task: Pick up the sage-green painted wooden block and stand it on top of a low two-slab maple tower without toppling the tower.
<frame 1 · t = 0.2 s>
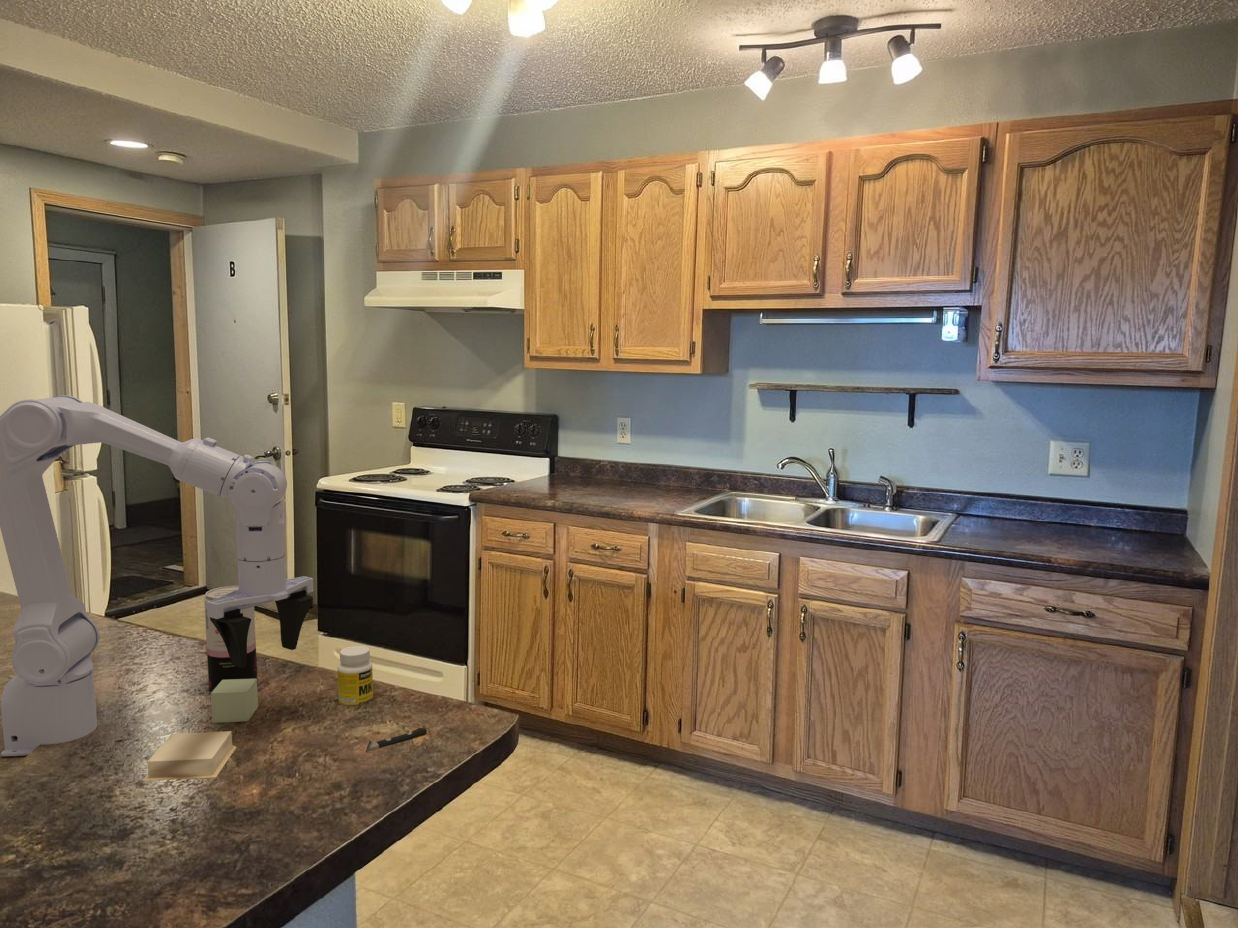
hand: (264, 656, 110), 10 cm above the countertop, tool pointing down, fingers open, 7 cm apart
tower base: (192, 777, 99), on the countertop, touching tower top
green block: (236, 724, 112), on the countertop
beverage can: (233, 690, 124), on the countertop
chef's knife: (354, 753, 106), on the countertop
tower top: (192, 761, 99), point 1 cm above the countertop, touching tower base
supplement bottle: (356, 708, 118), on the countertop
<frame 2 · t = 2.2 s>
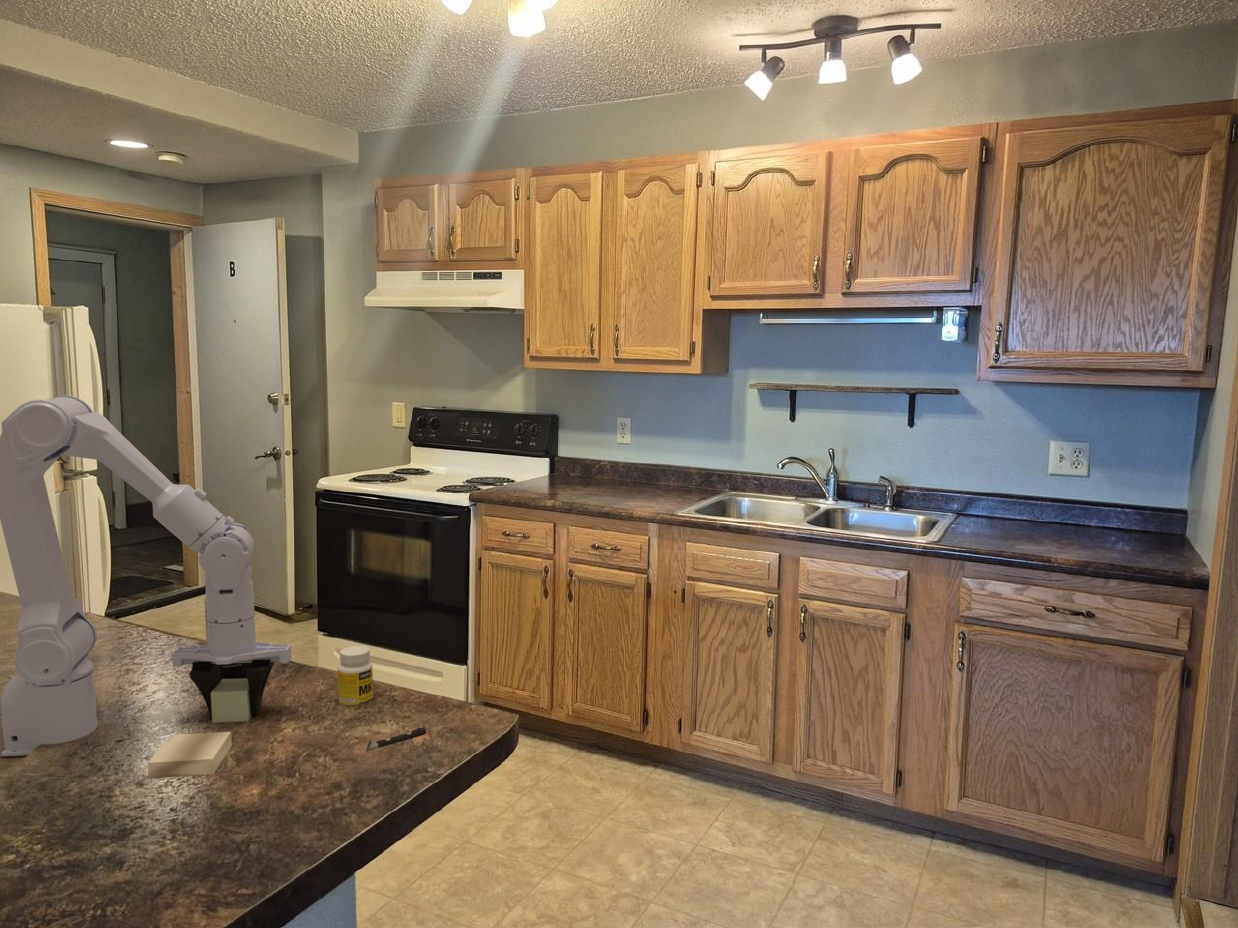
hand: (235, 713, 112), 1 cm above the countertop, tool pointing down, fingers closed on green block, 4 cm apart
green block: (236, 723, 112), on the countertop, touching gripper
everything else where it was.
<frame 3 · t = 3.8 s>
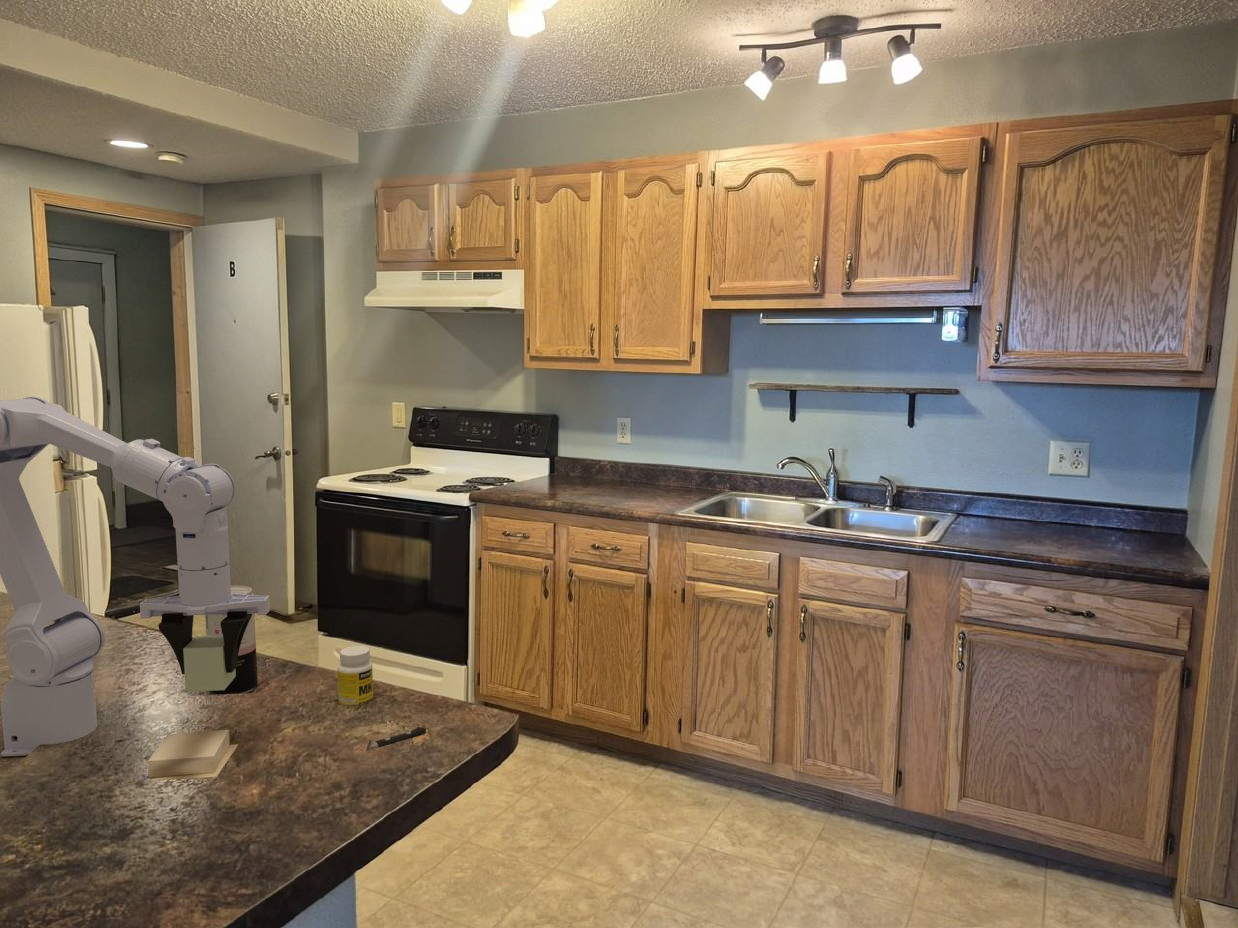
hand: (209, 670, 104), 10 cm above the countertop, tool pointing down, fingers closed on green block, 4 cm apart
green block: (211, 683, 104), point 9 cm above the countertop, touching gripper
everything else where it was.
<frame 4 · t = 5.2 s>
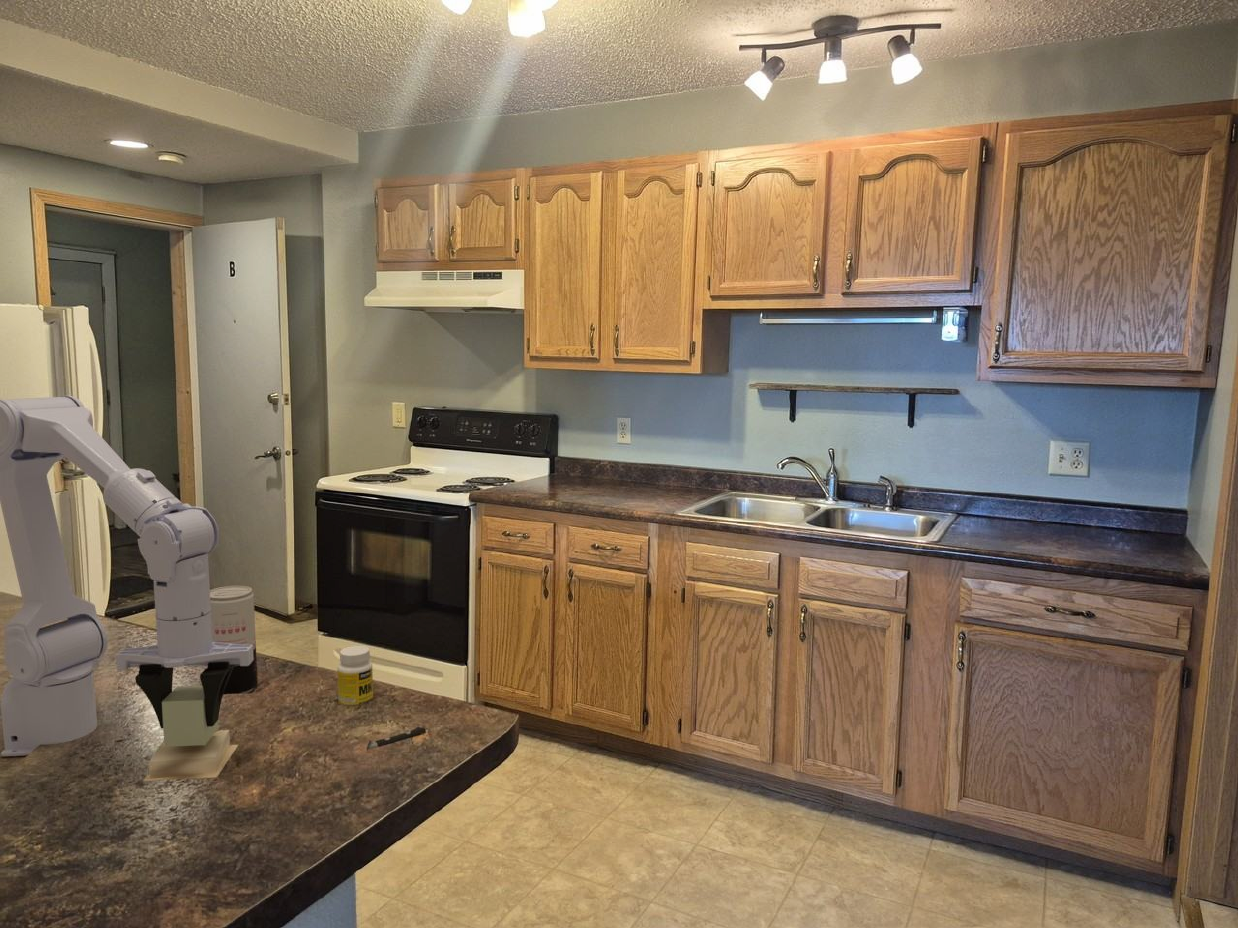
hand: (189, 723, 99), 6 cm above the countertop, tool pointing down, fingers closed on green block, 4 cm apart
green block: (192, 737, 99), point 4 cm above the countertop, touching gripper
everything else where it was.
when the fingers open (6 cm above the countertop, at t = 6.1 s): green block stays where it is, resting on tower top.
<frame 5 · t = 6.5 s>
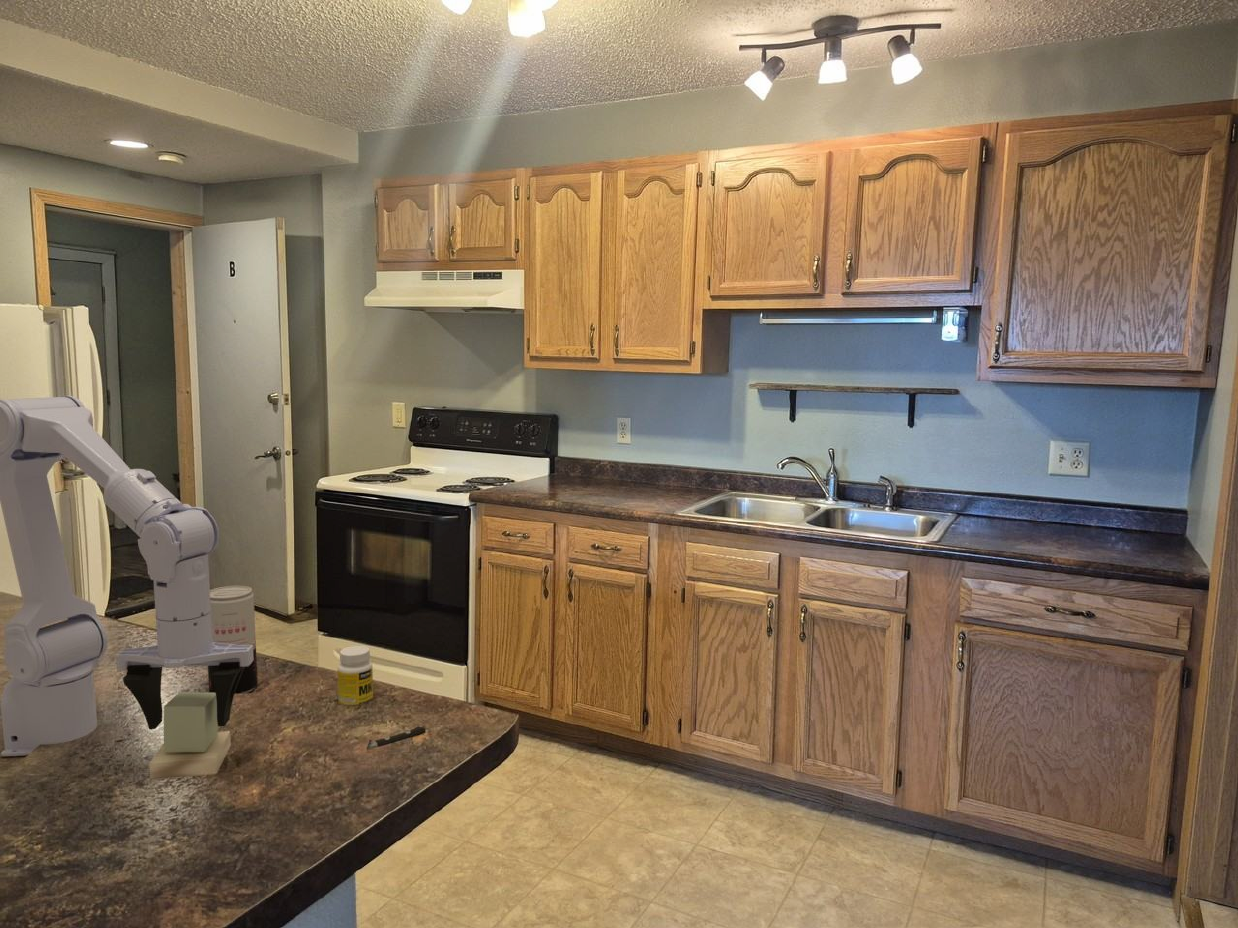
hand: (189, 724, 99), 6 cm above the countertop, tool pointing down, fingers open, 7 cm apart
green block: (191, 743, 99), point 3 cm above the countertop, touching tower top
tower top: (192, 762, 99), point 1 cm above the countertop, touching green block, tower base
everything else where it was.
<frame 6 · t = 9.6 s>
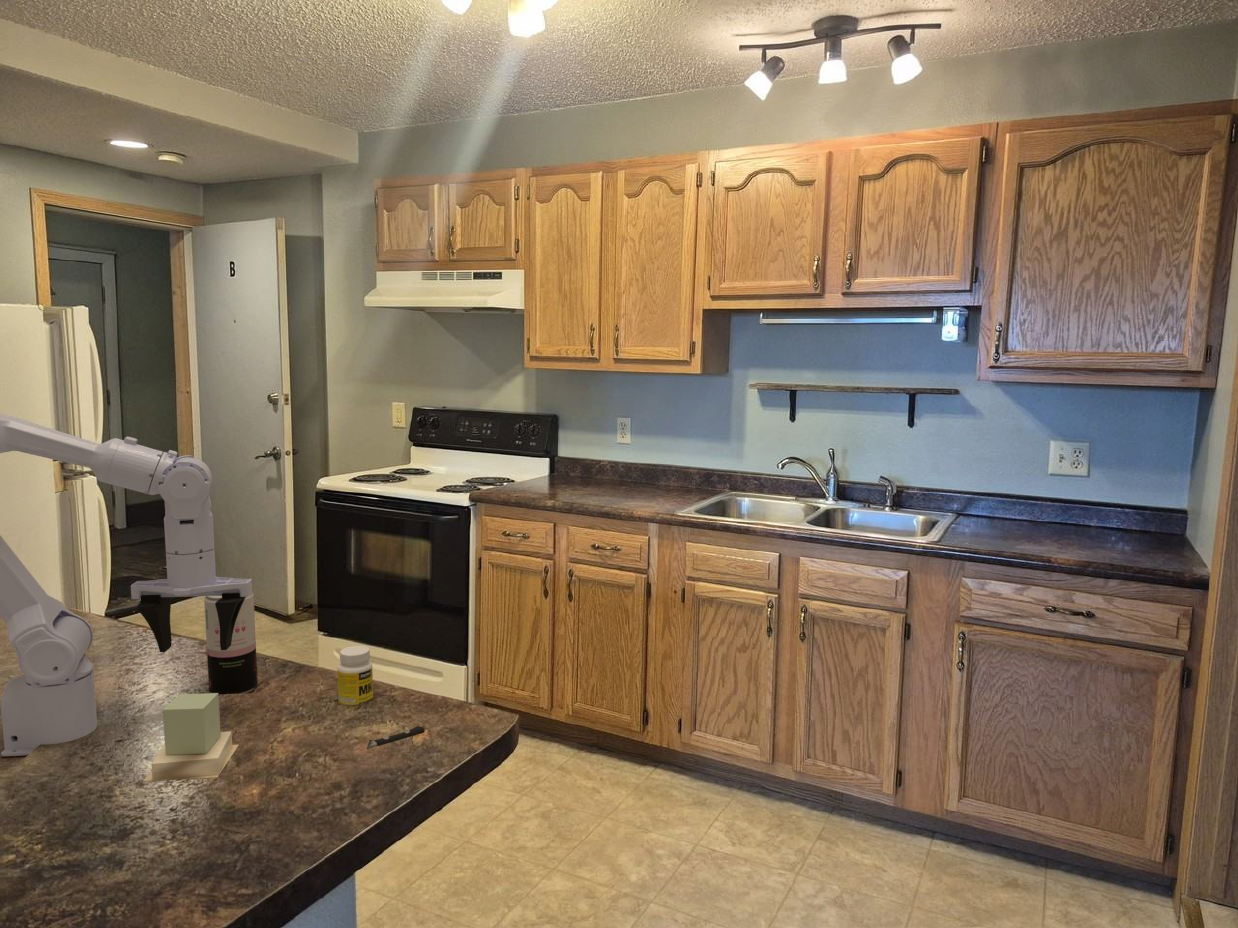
hand: (196, 648, 111), 10 cm above the countertop, tool pointing down, fingers open, 7 cm apart
tower base: (193, 777, 99), on the countertop
green block: (193, 745, 99), point 3 cm above the countertop
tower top: (194, 762, 99), point 1 cm above the countertop
everything else where it was.
at the end: green block 0.3 cm off-centre on the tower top, point 2.1 cm above the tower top's base; green block touching nothing; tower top moved 0.8 cm from its start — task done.
